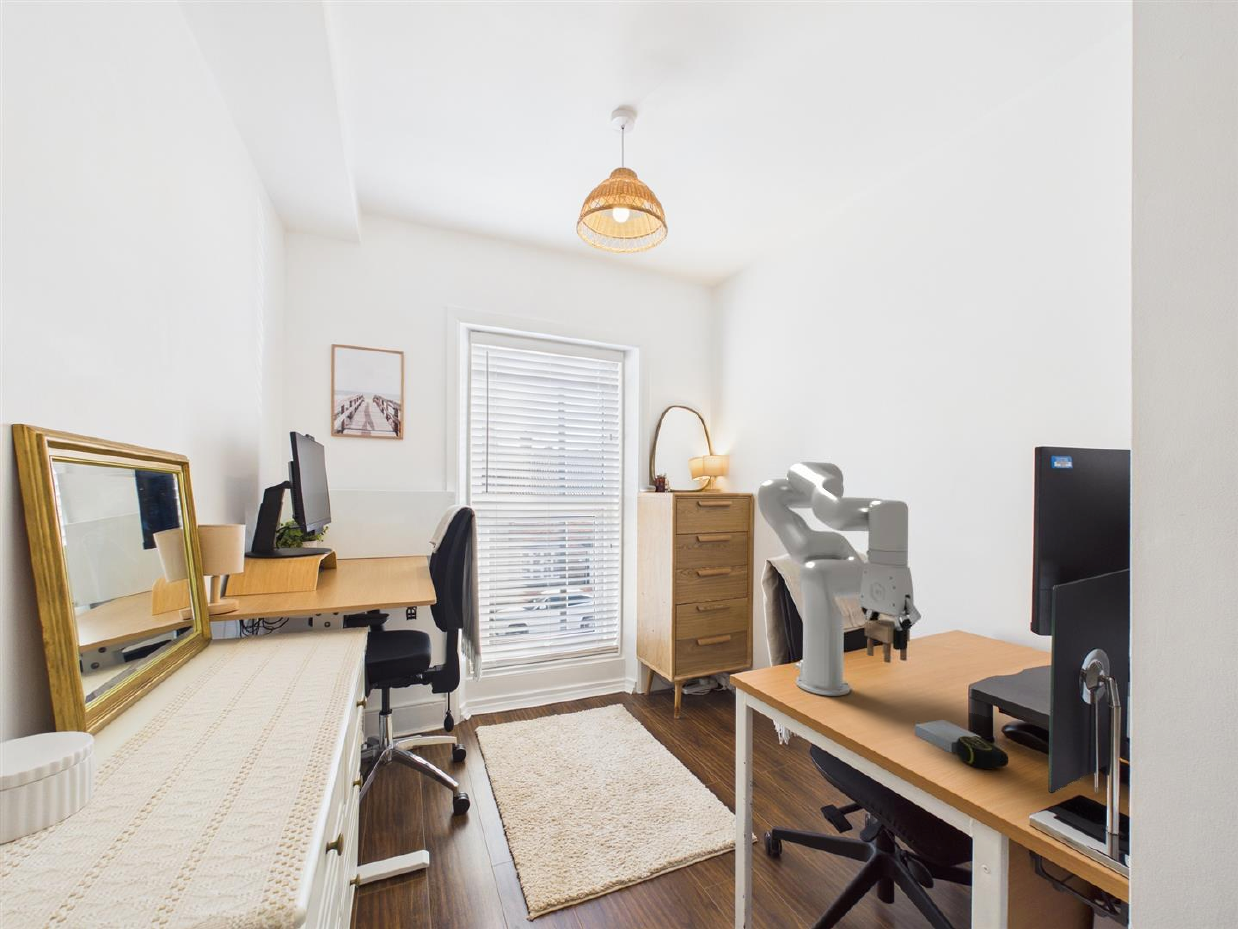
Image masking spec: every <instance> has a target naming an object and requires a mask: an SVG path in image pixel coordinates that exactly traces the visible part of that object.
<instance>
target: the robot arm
mask: <svg viewBox="0 0 1238 929" xmlns="http://www.w3.org/2000/svg"><path fill="white" fill-rule="evenodd" d="M844 488H845V487H844V475H843V471H842V470H841V469H840V468H839V466H837V465H836V464H834V463H831V462H815V461H814V462H813V461H803V462H798V463H794V465H792V466H791V467H790V468H789V469H788V471H787V473H786V478H775V479H773V478H772V479H770V480H766V481H765V482H763V483H761V485H760V486H759V488H758V492H757V502H758V507H759V510H760V513H761V515H762V517H763V519H764V520H765V522H766V523H767V524H768V525H769V527H771V529H772V530H773V531H774V532H775V533H776V536H778V539H779V540H780V542H781V543H782V545H783V546H784V548H785V550H786V552H787V554H788V555H789V557H790V559H791V560H792V561H793V562H794V563H795V564H796V565H798V566H800V567H801V568H800V571H799V578H798V579H799V584H800V590H801V596H802V612H803V613H802V614H803V615H802V635H803V636H802V659H801V660H799V662H796V663H795V668H796V669H798V670H800V675H797V677H796V679H795V682H796V685H797V687H799V688H800V689H802V690H804V691H806V692H809V693H813V694H816V695H821V696H830V697H831V696H832V697H839V696H840V697H841V696H844V695H847V694H849V693H850V692H851V686H850V683H848V682H847V681H845V680H844V644H845V643H844V639H845V638H844V636H845V635H844V633H845V632H844V631H845V628H844V627H845V626H844V625H845V624H844V622H845V621H844V615H843V612H842V610H841V608H840V607H839V605H838V603H837V601H836V599H840V598H841V599H842V598H843V599H844V598H845V599H846V598H857V599H856V600H857V603H858V605H859V607H860V608H861V612H862V613H863V615H864V619H865V621H873V620H880V616H881V614H883V615H886V616H889V617H892V621H893V622H894V623H895V627H896V629H895V630H894V632H893V643H892V648H893V650H896V651H899V650H902V649H907V650H908V641H907V630H910V631H911V628H912V627H913V626H914V625H915V624H916V623H917V622H918V621H919V620H921V618H922V615H921V614H920V612H919V610H918V608H916V606H915V605H914V602H915V601H914V600H915V599H914V587H913V586H914V585H913V579H912V572H911V568H910V567H909V562H908V561H909V507H908V504H907V503H906V502H904V501H902V500H895V499H894V500H893V499H891V500H889V499H880V498H874V497H872V498H871V497H852V496H850V497H843V496H844V494H845V493H844V491H845V489H844ZM792 509H811V510H812V513H813V515H814V517H815V518H816V519H817V520H819V521H820V522H821V523H823V524H824V526H825V525H826V526H827V527H828V528H831V529H833V530H835V531H840V532H868V538H867V540H868V543H867V544H868V545H867V548H868V549H867V550H866V552H865V553H866V556H867V557H868V558H867V561H866V562H864V560H863V559H862V558H861V556H860V554H858V552H857V551H856V550H855V548H854V547H853V545H851V542H850V541H848V539H847V538H846V537H845V536H844V535H842V534H840V533H838V532H835V531H827V530H826V531H825V530H823V531H818V530H814V529H812V528H811V527H810V526H809V525H808V523H807V522H806V520H805V519H804V518H803V517H802V516H801V515H800V514H798V513H797V512H795V511H794V510H792ZM900 618H901V619H900ZM874 641H878V640H877V639H874Z"/></svg>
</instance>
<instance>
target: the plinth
mask: <svg viewBox="0 0 1238 929" xmlns="http://www.w3.org/2000/svg"><path fill="white" fill-rule="evenodd" d="M914 736H916V737H919V738H921V739H922V740H923V741H924V740H925V741H926V742H928V743H930V744H932V745H933V746H937V748H940V749H941V750H944V751H946V752H948V753H950V754H954V753H957V752H956V743H957V740H958V738H960V737H962V736H969V737H973V736H978V737H980V738H982V736H980V735H978V734H976V733H974V732H971V731H970V730H967V729H965V728H963V727H960V726H958V725H956V724H955V723H954V724H953V723H952V722H949V721H947V720H944V719H940V720H939V719H938V720H935V721H929V722H924V723H923V722H922V723H917V724H914Z"/></svg>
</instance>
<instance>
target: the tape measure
mask: <svg viewBox="0 0 1238 929" xmlns="http://www.w3.org/2000/svg"><path fill="white" fill-rule="evenodd" d="M978 736H979V735H978ZM978 736H973V737H969V736H962V737H960V738H958V740H957V743H956V753H957V757H959V758H960V759H961V760H962V761H964V762H966V763H967V764H969V765H972V766H974V767H978V768H982V769H989V770H993V769H998V768H1002V767H1003V768H1004V767H1007V765H1008V764H1009V756H1008V753H1006V752H1005V751H1004V750H1003V749H1001V748H1000V747H998V746H996V745H994V744H992V743H991V742H989V741H987V740H986V739H983V738H982V737H981V736H980V737H981V738H980V737H978Z"/></svg>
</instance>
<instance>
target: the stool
mask: <svg viewBox="0 0 1238 929" xmlns="http://www.w3.org/2000/svg"><path fill="white" fill-rule="evenodd" d="M895 629H896V627H895V623H894V620H889V619H878V620H873V621H867V620H864V636H866V638H867V644H866V646H867V649H866V650H867V652H866V654H867V656H869V657H874V650H875V649H874V647H875V646H874V642H875V640H874V639H877V640H876V641H880V642H882V653H883V662H884V663H887V664H888V663H891V662H892V661H891V658H892V657H891V649H892V648H891V646H892V645H891V644H893V632H894V630H895ZM910 632H911V629H910V630H907V642H910V640H911V639H910V636H911V634H910ZM907 653H908V648H907V649H902V650H900V651H899V660H901V661H908V660H907V659H908V658H907V657H908V654H907Z"/></svg>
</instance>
